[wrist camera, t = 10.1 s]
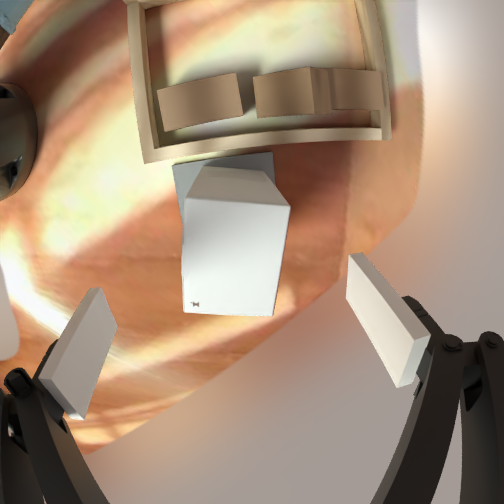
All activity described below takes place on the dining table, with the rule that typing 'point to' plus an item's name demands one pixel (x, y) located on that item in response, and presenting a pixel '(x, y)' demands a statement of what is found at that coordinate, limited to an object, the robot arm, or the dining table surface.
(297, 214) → the dining table surface
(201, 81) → the offcut
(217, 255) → the small box
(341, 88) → the offcut
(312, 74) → the offcut
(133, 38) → the tray
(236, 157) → the mat
